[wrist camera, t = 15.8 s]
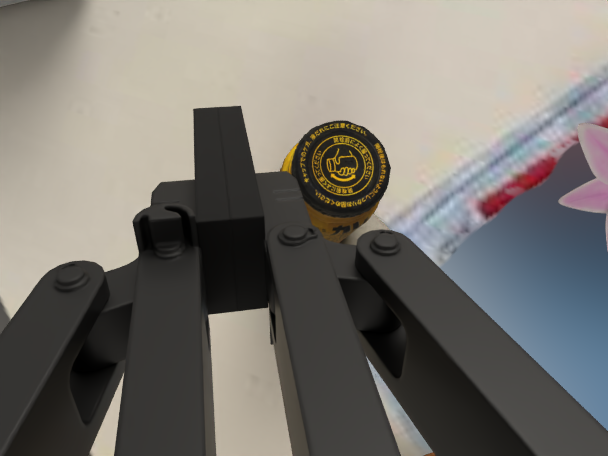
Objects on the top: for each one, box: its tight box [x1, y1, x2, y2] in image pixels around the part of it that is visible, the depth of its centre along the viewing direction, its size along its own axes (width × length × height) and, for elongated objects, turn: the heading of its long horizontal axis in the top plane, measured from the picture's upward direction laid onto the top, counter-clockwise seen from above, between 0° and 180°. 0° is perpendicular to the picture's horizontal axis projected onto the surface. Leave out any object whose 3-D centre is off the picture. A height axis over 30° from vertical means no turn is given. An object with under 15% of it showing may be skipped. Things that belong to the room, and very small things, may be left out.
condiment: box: [280, 121, 391, 245], centre depth 33 cm, size 7×8×12 cm
